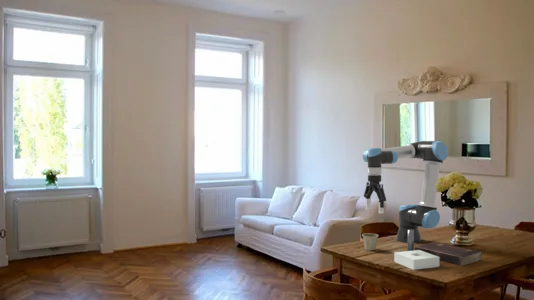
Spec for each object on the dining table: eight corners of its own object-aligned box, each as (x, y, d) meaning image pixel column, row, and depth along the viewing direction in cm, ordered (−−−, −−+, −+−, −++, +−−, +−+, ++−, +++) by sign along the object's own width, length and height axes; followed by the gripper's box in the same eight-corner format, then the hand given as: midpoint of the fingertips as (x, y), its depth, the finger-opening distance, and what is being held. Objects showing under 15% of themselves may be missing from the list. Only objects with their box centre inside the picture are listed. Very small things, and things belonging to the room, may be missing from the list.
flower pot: (378, 251, 271) (378, 237, 271) (362, 251, 273) (362, 236, 273) (378, 248, 280) (378, 233, 280) (362, 247, 282) (362, 233, 282)
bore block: (419, 259, 255) (419, 249, 255) (439, 266, 240) (439, 256, 240) (394, 261, 249) (394, 252, 249) (413, 269, 234) (413, 259, 234)
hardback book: (414, 255, 265) (414, 246, 265) (434, 250, 276) (434, 242, 276) (461, 266, 242) (461, 257, 241) (480, 261, 253) (481, 251, 252)
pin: (411, 253, 267) (411, 229, 267) (414, 254, 264) (415, 230, 264) (406, 254, 266) (406, 229, 266) (409, 255, 263) (410, 230, 262)
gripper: (357, 173, 279) (358, 208, 279) (380, 176, 255) (380, 215, 256) (368, 172, 281) (369, 207, 282) (392, 176, 258) (392, 214, 258)
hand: (374, 211), depth 269 cm, fingers open, 13 cm apart
